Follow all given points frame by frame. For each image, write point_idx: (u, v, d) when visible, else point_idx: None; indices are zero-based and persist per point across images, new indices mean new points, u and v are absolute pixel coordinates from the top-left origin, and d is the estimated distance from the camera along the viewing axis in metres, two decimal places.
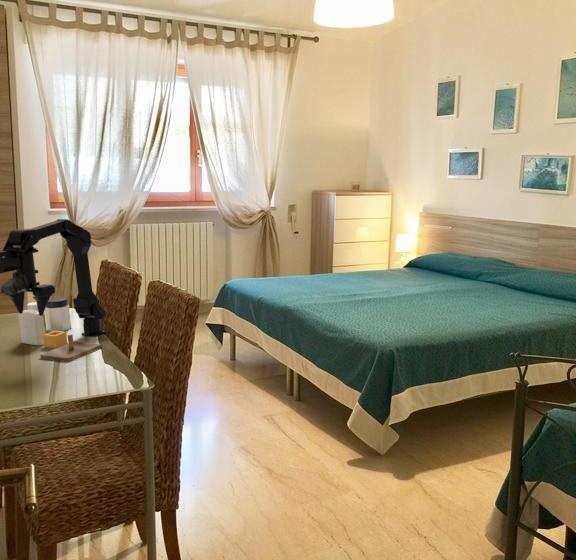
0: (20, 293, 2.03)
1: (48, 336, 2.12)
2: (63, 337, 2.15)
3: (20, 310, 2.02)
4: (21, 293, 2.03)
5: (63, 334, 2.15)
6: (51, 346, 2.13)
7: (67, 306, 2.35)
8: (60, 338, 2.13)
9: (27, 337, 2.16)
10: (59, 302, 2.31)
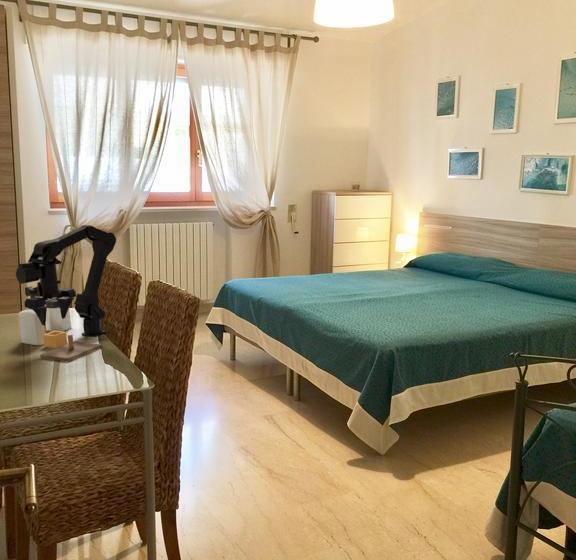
0: (64, 300, 2.17)
1: (48, 336, 2.12)
2: (63, 337, 2.15)
3: (62, 315, 2.18)
4: (65, 301, 2.16)
5: (63, 334, 2.15)
6: (51, 346, 2.13)
7: None
8: (60, 338, 2.13)
9: (27, 337, 2.16)
10: None
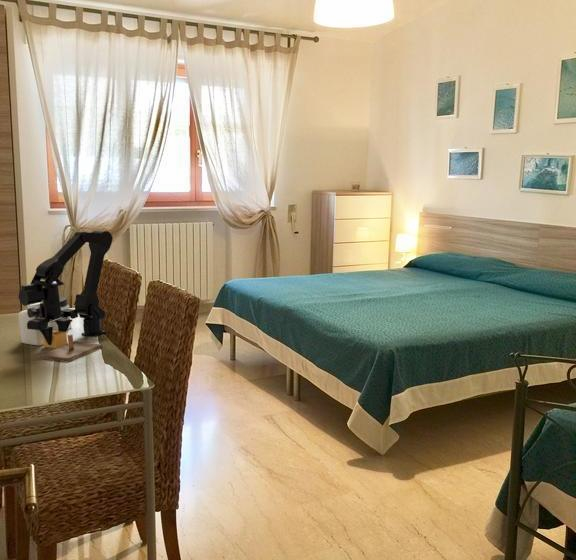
0: (63, 322, 2.16)
1: None
2: (63, 337, 2.15)
3: None
4: (64, 322, 2.16)
5: (63, 334, 2.15)
6: (51, 346, 2.13)
7: (67, 306, 2.35)
8: (60, 338, 2.13)
9: (27, 337, 2.16)
10: None
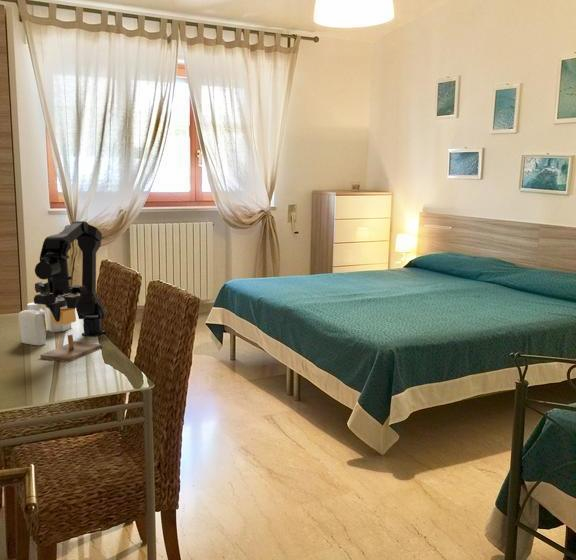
0: (72, 298, 2.07)
1: None
2: (71, 314, 2.05)
3: None
4: (73, 299, 2.07)
5: (71, 311, 2.05)
6: (59, 323, 2.03)
7: None
8: (68, 315, 2.04)
9: (27, 337, 2.16)
10: None
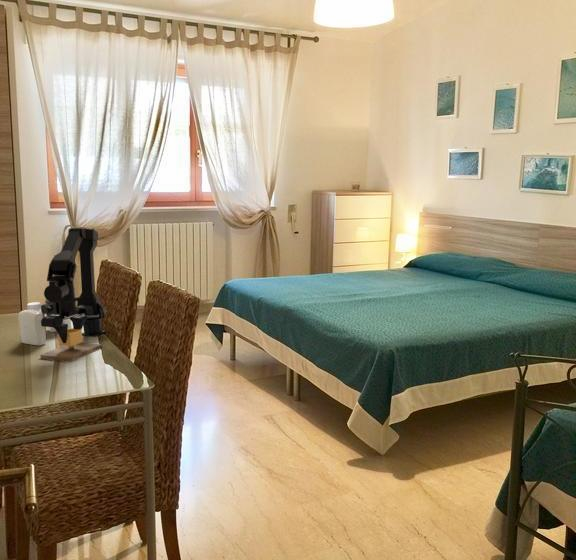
0: (78, 319, 2.07)
1: None
2: (78, 335, 2.05)
3: None
4: (79, 320, 2.06)
5: (78, 332, 2.05)
6: (66, 344, 2.03)
7: None
8: (75, 336, 2.04)
9: (27, 337, 2.16)
10: None
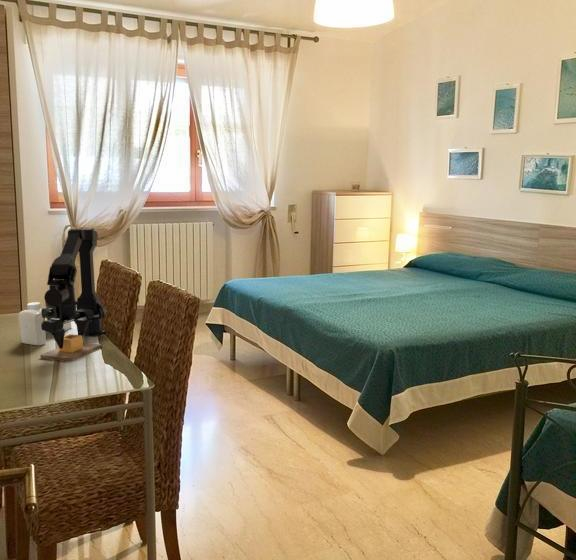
0: (82, 322, 2.08)
1: None
2: (79, 341, 2.05)
3: None
4: (83, 322, 2.08)
5: (79, 338, 2.05)
6: (66, 350, 2.03)
7: None
8: (76, 342, 2.04)
9: (27, 337, 2.16)
10: None
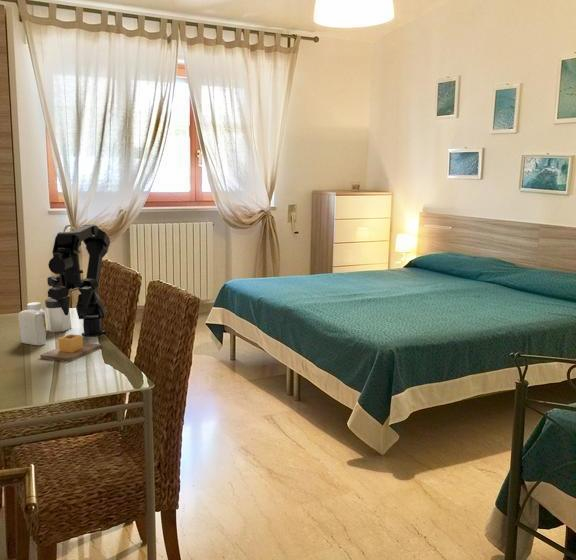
0: (86, 290, 2.16)
1: (63, 340, 2.03)
2: (79, 341, 2.05)
3: (84, 305, 2.17)
4: (87, 290, 2.16)
5: (79, 338, 2.05)
6: (66, 350, 2.03)
7: None
8: (76, 342, 2.04)
9: (27, 337, 2.16)
10: None
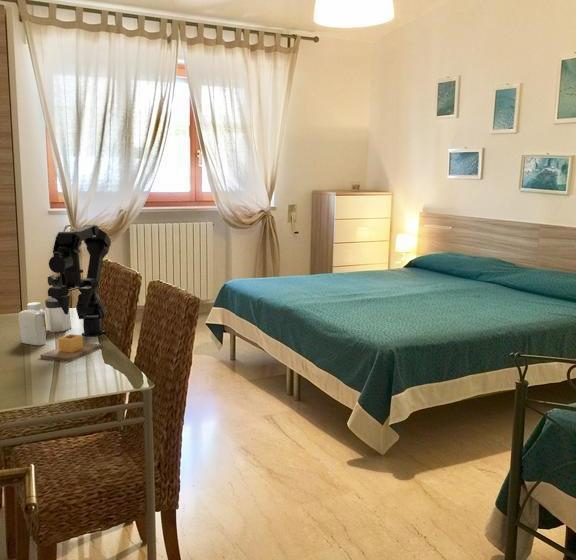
0: (86, 290, 2.17)
1: (63, 340, 2.03)
2: (79, 341, 2.05)
3: (84, 305, 2.18)
4: (87, 290, 2.16)
5: (79, 338, 2.05)
6: (66, 350, 2.03)
7: None
8: (76, 342, 2.04)
9: (27, 337, 2.16)
10: None
